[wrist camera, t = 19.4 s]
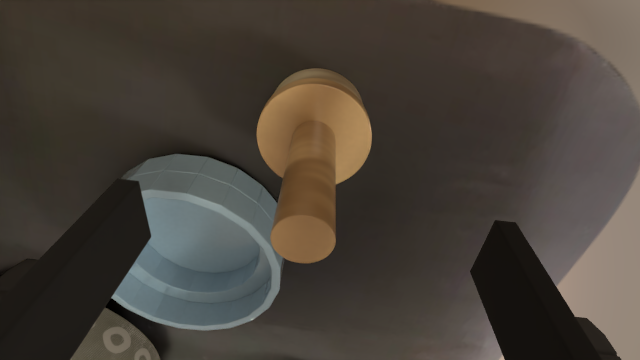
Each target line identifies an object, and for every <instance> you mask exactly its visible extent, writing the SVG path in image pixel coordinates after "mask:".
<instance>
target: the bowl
mask: <svg viewBox="0 0 640 360" xmlns="http://www.w3.org/2000/svg"><path fill="white" fill-rule="evenodd" d="M121 179H126V180H135V181H139V184H140V188H141V193H142V197H143V202H144V206H145V211H146V215H147V219H148V224H149V228H150V233H151V238H150V240H149V241H148V243H147V244H146V246H145V247H144V249H143V250H142V252H141V253H140V255H139V256H138V258H137V259H136V261H135V263H134V264H133V266H132V267H131V269H130V270H129V272H128V273H127V275H126V276H125V278H124V279H123V281H122V282H121V284H120V285H119V287H118V288H117V290H116V291H115V293H114V294H113V296H112V297H111V298H112V299H113V300H115V301H116V302H117V303H119V304H120V305H121V306H123V307H124V308H126V309H128V310H130V311H132V312H134V313H136V314H138V315H140V316H142V317H145V318H147V319H149V320H151V321H154V322H157V323H161V324H165V325H168V326H172V327H176V328H183V329H194V330H206V331H207V330H217V329H227V328H232V327H235V326H238V325H241V324H244V323H247V322H249V321H252V320H254V319H255V318H256V317H258V316H259V315H260V314H261V313H263V312H264V311H265V310H267V309H268V308H269V307H270V306H271V304H272V302H273V300H274V299H275V297H276V295H277V293H278V292H279V290H280V284H281V278H282V271H283V265H284V259H285V258H283V257H282V256H280V255H279V254H278V253H277V252H276V251H275V250H274V248H273V246H272V244H271V240H270V234H271V229H272V225H273V221H274V216H275V212H276V207H277V202H276V201H275V200H274V199H273V197H272V196H271V195H270V194H269V192H268V191H267V190H266V189H265V188H264V186H262V185H261V184H260V183H258V182H257V181H256V180H254V179H253V178H251V177H250V176H248V175H247V174H246V173H244V172H243V171H241V170H240V169H238V168H236V167H234V166H231V165H228V164H226V163H223V162H220V161H218V160H215V159H212V158H210V157H209V158H208V157H203V156H194V155H184V154H173V155H168V156H162V157H157V158H152V159H148V160H146V161H144V162H143V163H141V164H139V165H138V166H136V167H134V168H133V169H131V170H129V171H127V173H126V174H125V175H124V176H123V177H122V178H121Z"/></svg>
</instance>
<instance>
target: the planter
mask: <svg viewBox="0 0 640 360" xmlns="http://www.w3.org/2000/svg"><path fill="white" fill-rule="evenodd" d="M71 360H160V357H159V355H158V352H157V350H156V349H155V347H154V346H153V344H152V343H151V342H150V340H149V339H148V338H147V337H146V336H145V335H144V334H143V333H142V332H141V331H140V330H139V329H138V328H136V327H135V326H134V325H132V324H131V323H130V322H128V321H127V320H126V319H124V318H123V317H121V316H119V315H118V314H116V313H114V312H113V311H111V310H109V309H107V308H104V309H103V311H102V313H101V314H100V316H99V317H98V319H97V320H96V322H95V323H94V325H93V326H92V328H91V329H90V331H89V332H88V334H87V335H86V337H85V338H84V340H83V341H82V343H81V344H80V346H79V347H78V349H77V350H76V352H75V353H74V355H73V356H72V358H71Z"/></svg>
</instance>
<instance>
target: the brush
mask: <svg viewBox="0 0 640 360" xmlns="http://www.w3.org/2000/svg"><path fill="white" fill-rule="evenodd" d="M371 142H372V131H371V125H370V120H369V116H368V113H367V111H366V109H365V107H364V105H363V102H362V99H361V97H360V95H359V93H358V91H357V89H356V88H355V87H354V85H353V84H352V83H351V82H350V81H349V80H347V79H346V78H345V77H343V76H342V75H340V74H338V73H336V72H334V71H330V70H327V69H320V68H312V69H305V70H301V71H299V72H296V73H294V74H292V75H290V76H289V77H287V78H286V79H285V80H284V81H283V82H282V83H281V84H280V85H279V86H278V87H277V89H276V91H275V92H274V94H273V95H272V96H271V97H270V99H269V100H268V101H267V103H266V105H265V106H264V108H263V111H262V113H261V115H260V118H259V120H258V125H257V143H258V147H259V150H260V153H261V155H262V157H263V159H264V160H265V162H266V163H267V165H268V166H269V167H270V168H271V169H272V170H273V171H274V172H275V173H276V174H277V175H279V176H280V177H282V178H283V181H282V185H281V190H280V194H279V199H278V203H277V207H276V212H275V216H274V221H273V225H272V229H271V234H270V240H271V244H272V246H273V248H274V250H275V251H276V252H277V253H278V254H279V255H280V256H282V257H283V258H285V259H287V260H290V261H292V262H297V263H313V262H317V261H320V260H322V259H324V258H325V257H327V256H328V255H329V254H330V253H331V252H332V250H333V249H334V246H335V243H336V184H338V183H340V182H343V181H344V180H346V179H348V178H349V177H351V176H352V175H353V174H355V173H356V172H357V171H358V170H359V169H360V167H361V166H362V165H363V164H364V162H365V160H366V159H367V156H368V154H369V152H370V148H371Z"/></svg>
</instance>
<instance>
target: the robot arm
mask: <svg viewBox="0 0 640 360" xmlns="http://www.w3.org/2000/svg"><path fill="white" fill-rule="evenodd" d="M150 238H151V233H150V228H149V224H148V219H147V215H146V211H145V206H144V202H143V197H142V193H141V188H140V184H139V181H135V180H126V179H117V180H116V181H115V182H114V183H113V184H112V185H111V186H110V187H109V188H108V189H107V190H106V191H105V192H104V193H103V194H102V195H101V196H100V197H99V198H98V199H97V200H96V202H95V203H94V204H93V205H92V206H91V207H90V208H89V209H88V210H87V211H86V212H85V213H84V214H83V215H82V216H81V217H80V218H79V219H78V220H77V221H76V222H75V223H74V224H73V225H72V226H71V227H70V228H69V229H68V230H67V231H66V232H65V233H64V234H63V235H62V237H61V238H60V239H59V240H58V241H57V242H56V243H55V244H54V245H53V246H52V247H51V248H50V249H49V250H48V251H47V252H46V253H45V254H44V255H43V256H42V257H41V258H40V259H39V260H35V259H26V260H24V261H22V262H21V263H19V264H17V265H16V266H14V267H12V268H11V269H9V270H7V271H6V272H5V273H4V274H3V275H2V276H1V277H0V360H71V358H72V356H73V355H74V353H75V352H76V350H77V349H78V347H79V346H80V344H81V343H82V341H83V340H84V338H85V337H86V335H87V334H88V332H89V331H90V329H91V328H92V326H93V325H94V323H95V322H96V320H97V319H98V317H99V316H100V314H101V313H102V311H103V309H104V308H105V306H106V305H107V303H108V302H109V300H110V299H111V297H112V296H113V294H114V293H115V291H116V290H117V288H118V287H119V285H120V284H121V282H122V281H123V279H124V278H125V276H126V275H127V273H128V272H129V270H130V269H131V267H132V266H133V264H134V263H135V261H136V259H137V258H138V256H139V255H140V253H141V252H142V250H143V249H144V247H145V246H146V244H147V243H148V241H149V240H150ZM470 273H471V275H472V278H473V280H474V283H475V285H476V288H477V290H478V293H479V295H480V298H481V300H482V303H483V305H484V308H485V311H486V313H487V316H488V318H489V321H490V323H491V326H492V328H493V331H494V333H495V336H496V338H497V341H498V344H499V346H500V349H501V351H502V354H503V356H504V359H505V360H621V359H620V357H618V356H617V353H616V351H615V350H614V348H613V347H612V345H611V344H610V342H609V341H608V339H607V338H606V336H605V335H604V334H603V333H602V332H601V331H600V330H599V329H598V328H597V327H596V326H595V325H594V324H593V323H592V322H590V321H589V320H588V319H587V318H580V317H574V314H573V313H572V311H571V310H570V308H569V307H568V305H567V303H566V302H565V300H564V299H563V297H562V296H561V294H560V292H559V291H558V289H557V287H556V286H555V284H554V283H553V281H552V279H551V278H550V276H549V275H548V273H547V272H546V270H545V268H544V267H543V265H542V264H541V262H540V260H539V259H538V257H537V256H536V254H535V252H534V251H533V249H532V248H531V246H530V245H529V243H528V241H527V240H526V238H525V237H524V235H523V233H522V232H521V230H520V229H519V227H518V226H517V224H516V223H515V222H506V221H497V220H495V222H494V224H493V226H492V228H491V230H490V232H489V234H488V236H487V238H486V240H485V242H484V244H483V246H482V248H481V250H480V252H479V254H478V256H477V258H476V261H475V263H474V265H473V267H472V269H471V271H470Z"/></svg>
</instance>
